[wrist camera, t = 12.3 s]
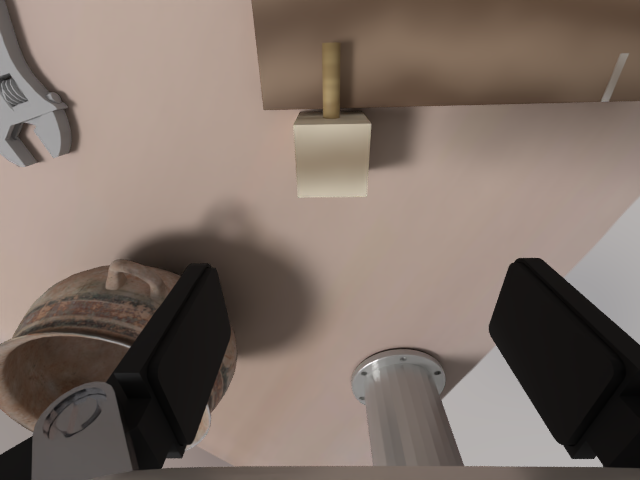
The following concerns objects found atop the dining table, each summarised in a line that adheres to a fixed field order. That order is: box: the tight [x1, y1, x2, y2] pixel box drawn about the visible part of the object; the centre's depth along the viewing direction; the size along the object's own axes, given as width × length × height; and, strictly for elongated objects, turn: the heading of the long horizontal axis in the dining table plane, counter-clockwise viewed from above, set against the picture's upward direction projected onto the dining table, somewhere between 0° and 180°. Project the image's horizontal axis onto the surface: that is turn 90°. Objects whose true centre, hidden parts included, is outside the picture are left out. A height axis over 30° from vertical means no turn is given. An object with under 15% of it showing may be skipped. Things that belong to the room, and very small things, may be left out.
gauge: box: [293, 42, 371, 198], centre depth 22 cm, size 10×5×6 cm, turn 1°
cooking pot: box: [0, 259, 237, 451], centre depth 30 cm, size 25×19×12 cm
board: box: [252, 0, 640, 110], centre depth 20 cm, size 12×28×2 cm, turn 91°
